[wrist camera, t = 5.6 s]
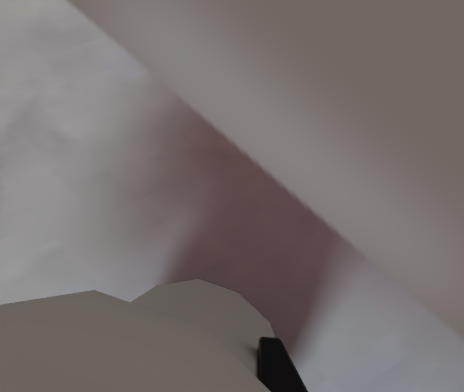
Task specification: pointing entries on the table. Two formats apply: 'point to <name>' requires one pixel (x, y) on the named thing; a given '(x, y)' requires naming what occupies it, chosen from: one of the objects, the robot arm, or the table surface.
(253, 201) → the table surface
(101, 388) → the salt shaker
